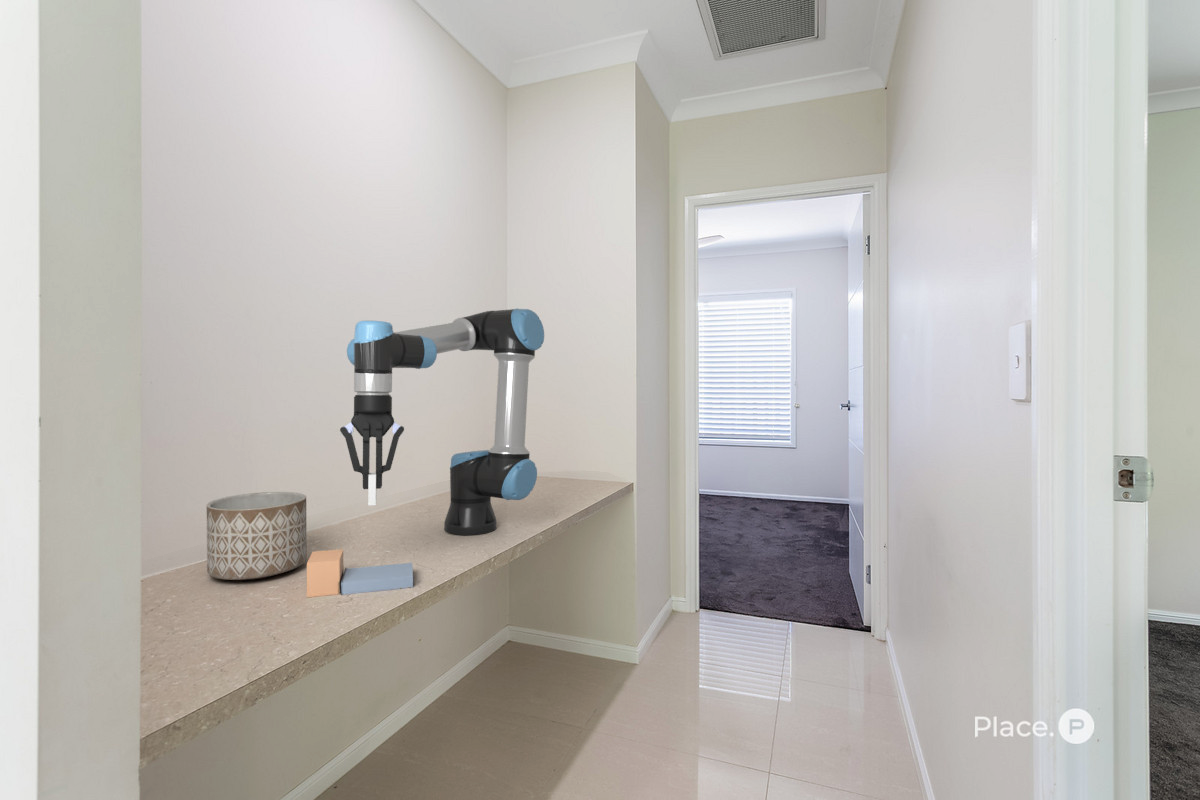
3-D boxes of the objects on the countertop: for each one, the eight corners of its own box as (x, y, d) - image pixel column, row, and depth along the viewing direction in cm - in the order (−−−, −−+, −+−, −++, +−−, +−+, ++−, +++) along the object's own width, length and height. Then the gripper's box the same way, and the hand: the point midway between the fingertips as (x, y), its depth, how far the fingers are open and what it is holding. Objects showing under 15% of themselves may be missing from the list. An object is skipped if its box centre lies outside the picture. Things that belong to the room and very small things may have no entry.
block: (343, 580, 123) (343, 549, 123) (339, 594, 116) (339, 560, 116) (312, 583, 121) (312, 551, 121) (306, 597, 114) (306, 563, 114)
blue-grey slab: (412, 573, 129) (412, 562, 128) (412, 587, 120) (412, 575, 120) (345, 579, 124) (345, 568, 124) (340, 594, 115) (340, 582, 115)
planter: (302, 553, 142) (302, 488, 141) (310, 576, 126) (310, 503, 125) (209, 566, 131) (208, 496, 131) (205, 593, 115) (204, 513, 115)
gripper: (405, 394, 126) (404, 499, 127) (341, 393, 122) (340, 502, 122) (405, 394, 119) (404, 506, 119) (337, 393, 115) (336, 509, 115)
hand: (372, 503), depth 121 cm, fingers closed
